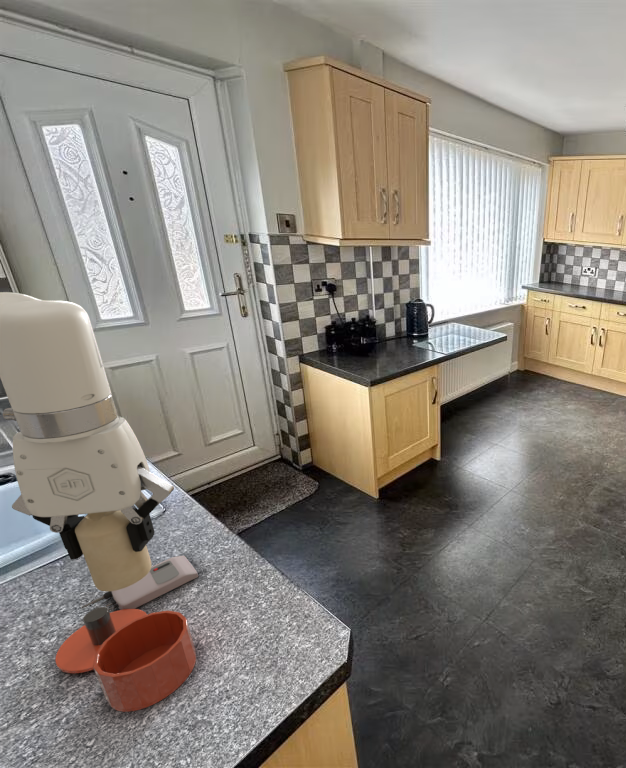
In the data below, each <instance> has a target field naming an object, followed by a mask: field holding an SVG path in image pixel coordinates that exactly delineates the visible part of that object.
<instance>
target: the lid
mask: <svg viewBox="0 0 626 768" xmlns="http://www.w3.org/2000/svg"><path fill="white" fill-rule="evenodd" d="M108 609H109V608H108V607H106V606H99V607H96V608H94V609H91V610H90V611H88V612H87V613H86V614H84V616H83V618H82V621H83V624H84V625H82V626H81V627H79V628H78V629H77V630H76V631H74V632H73V633H71V634H70V635H69V636H68V638H66V639H65V641H63V643H62V644H61V645H60V647H59V648H58V650H57V652H56V655H55V660H54V661H55V664H56V665H55V666H56V667H57V668H58V669H59V671H61V672H63V673H66V674H81V673H86V672H91V671H94V668H93V663H94V656H95V654H96V652H97V651H98V650H99V648H100V647H101V645H102V644H103V642H104V641H105V640H106V639H108V638H109V637H110V636H111V635H112V634H113V633H115V632H116V631H117V630H118V629H120V628H121V627H123V626H125V625H126V624H128V623H130V622H131V621H133V620H135V619H137V618H140V617H143V616H145V615H148V613H147V612H146V611H144V610H142V609H139V608H135V609H123V610H120V609H118V610H114V611H111V612H110V610H108Z"/></svg>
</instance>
